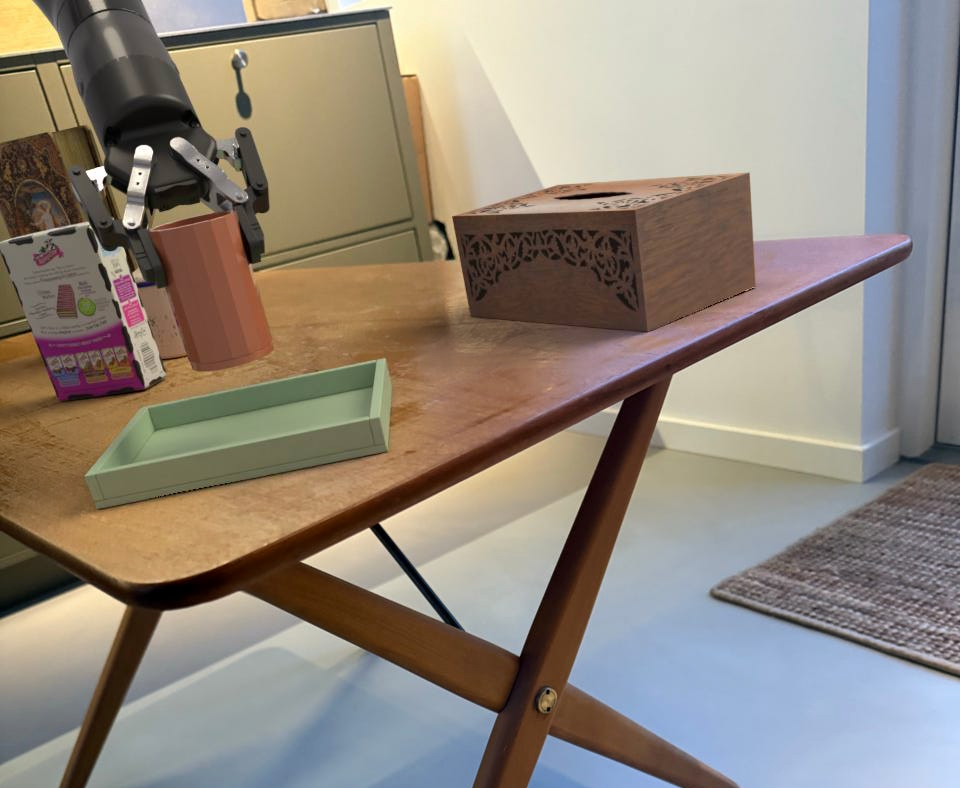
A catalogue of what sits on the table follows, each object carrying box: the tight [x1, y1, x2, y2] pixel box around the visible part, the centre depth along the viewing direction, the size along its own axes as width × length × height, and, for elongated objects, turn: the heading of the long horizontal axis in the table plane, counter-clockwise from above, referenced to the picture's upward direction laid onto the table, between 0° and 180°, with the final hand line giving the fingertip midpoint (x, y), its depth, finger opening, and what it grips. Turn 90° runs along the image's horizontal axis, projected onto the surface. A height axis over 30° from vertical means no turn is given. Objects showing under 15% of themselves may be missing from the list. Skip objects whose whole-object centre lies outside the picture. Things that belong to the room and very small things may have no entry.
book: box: [0, 124, 138, 273], centre depth 126 cm, size 16×6×25 cm, turn 56°
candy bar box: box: [0, 217, 168, 402], centre depth 106 cm, size 11×5×16 cm, turn 76°
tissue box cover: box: [451, 172, 757, 333], centre depth 100 cm, size 26×14×10 cm, turn 38°
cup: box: [148, 210, 275, 373], centre depth 76 cm, size 6×6×10 cm
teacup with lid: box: [132, 266, 187, 360], centre depth 119 cm, size 12×9×12 cm
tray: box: [83, 357, 393, 510], centre depth 81 cm, size 22×18×3 cm
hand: (208, 267), depth 74 cm, fingers closed on cup, 6 cm apart
